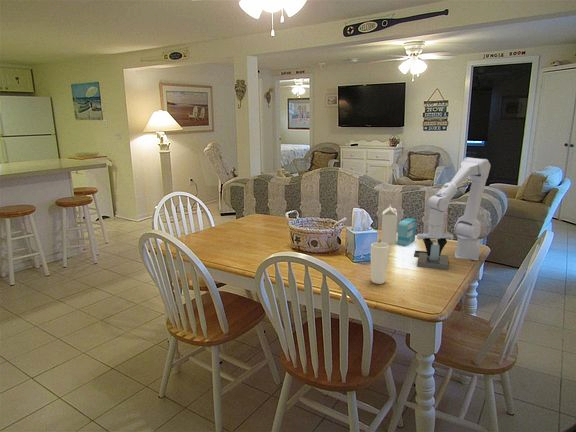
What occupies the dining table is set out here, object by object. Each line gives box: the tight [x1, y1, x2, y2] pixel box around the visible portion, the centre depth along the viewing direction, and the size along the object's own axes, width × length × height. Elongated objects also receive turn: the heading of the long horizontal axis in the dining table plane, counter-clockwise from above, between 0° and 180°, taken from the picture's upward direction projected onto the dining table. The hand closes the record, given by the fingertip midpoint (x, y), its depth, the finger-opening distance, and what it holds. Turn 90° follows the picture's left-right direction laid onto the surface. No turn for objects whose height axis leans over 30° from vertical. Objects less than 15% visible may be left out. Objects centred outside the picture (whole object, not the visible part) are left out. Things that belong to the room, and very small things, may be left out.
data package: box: [396, 217, 417, 247], centre depth 200 cm, size 12×4×12 cm, turn 142°
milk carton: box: [380, 203, 398, 245], centre depth 201 cm, size 7×7×19 cm
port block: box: [416, 252, 449, 271], centre depth 174 cm, size 12×12×3 cm
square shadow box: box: [413, 249, 427, 258], centre depth 184 cm, size 6×6×2 cm
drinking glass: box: [370, 241, 390, 285], centre depth 155 cm, size 7×7×15 cm
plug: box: [427, 239, 440, 261], centre depth 173 cm, size 4×4×8 cm
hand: (433, 255), depth 173 cm, fingers closed on plug, 4 cm apart
